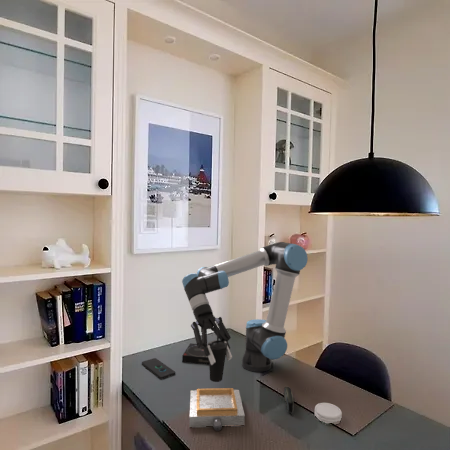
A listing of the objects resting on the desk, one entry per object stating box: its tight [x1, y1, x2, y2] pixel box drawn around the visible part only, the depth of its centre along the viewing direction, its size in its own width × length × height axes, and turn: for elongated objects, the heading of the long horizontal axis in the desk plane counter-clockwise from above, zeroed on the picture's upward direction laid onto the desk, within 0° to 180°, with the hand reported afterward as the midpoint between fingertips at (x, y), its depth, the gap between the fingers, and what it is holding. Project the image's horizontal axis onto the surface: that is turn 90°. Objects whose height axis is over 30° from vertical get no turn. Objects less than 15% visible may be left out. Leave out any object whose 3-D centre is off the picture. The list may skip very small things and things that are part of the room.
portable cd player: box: [181, 343, 209, 366], centre depth 184 cm, size 16×17×4 cm
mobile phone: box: [283, 386, 295, 417], centre depth 139 cm, size 5×3×15 cm
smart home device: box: [141, 357, 176, 380], centre depth 168 cm, size 8×2×20 cm
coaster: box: [314, 402, 343, 423], centre depth 132 cm, size 10×10×4 cm
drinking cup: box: [207, 327, 227, 383], centre depth 132 cm, size 8×8×20 cm
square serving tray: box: [189, 387, 246, 432], centre depth 132 cm, size 20×21×6 cm
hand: (221, 360), depth 129 cm, fingers closed on drinking cup, 7 cm apart
